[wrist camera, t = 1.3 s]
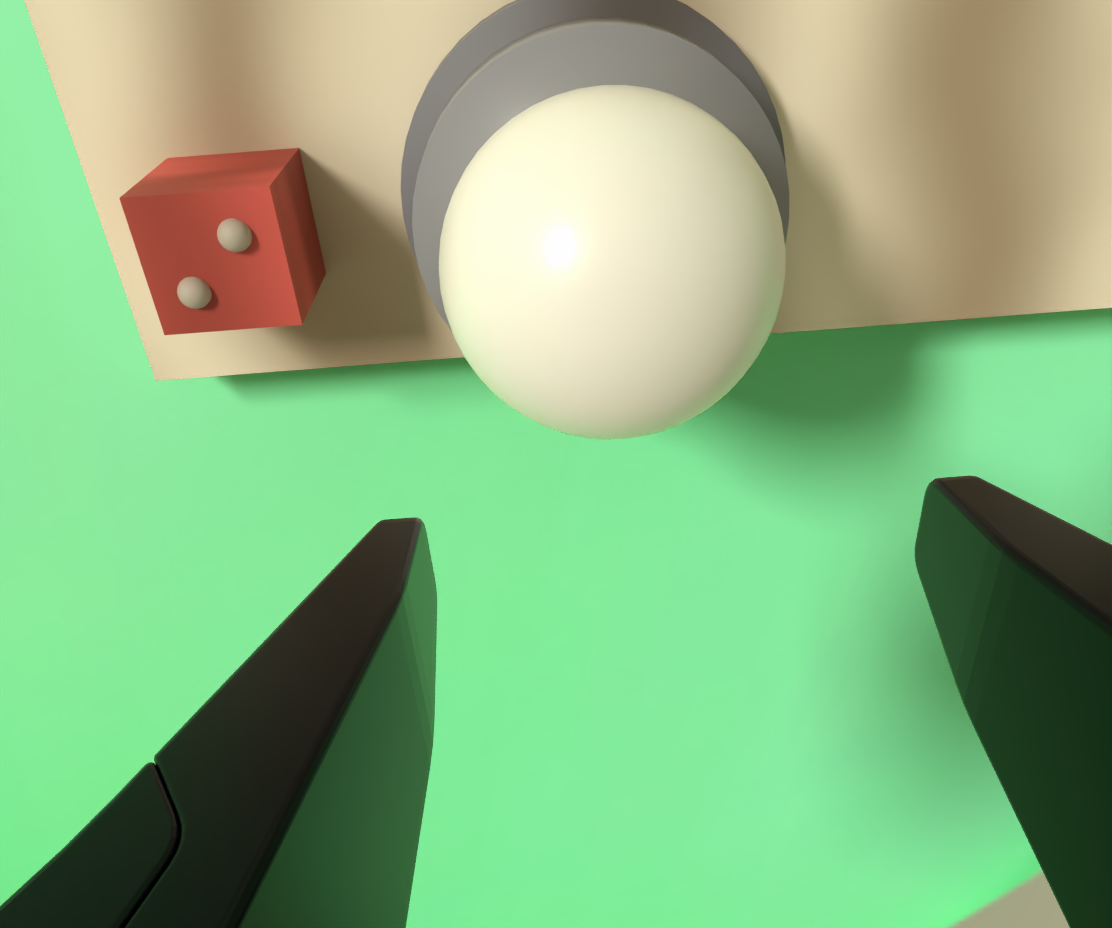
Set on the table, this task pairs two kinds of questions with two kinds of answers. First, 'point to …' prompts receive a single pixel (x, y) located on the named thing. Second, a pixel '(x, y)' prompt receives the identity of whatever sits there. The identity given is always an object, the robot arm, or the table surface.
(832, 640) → the table surface
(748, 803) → the table surface
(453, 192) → the dome
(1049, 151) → the game board
